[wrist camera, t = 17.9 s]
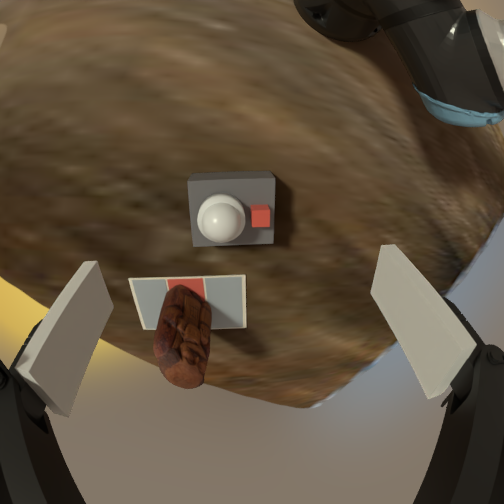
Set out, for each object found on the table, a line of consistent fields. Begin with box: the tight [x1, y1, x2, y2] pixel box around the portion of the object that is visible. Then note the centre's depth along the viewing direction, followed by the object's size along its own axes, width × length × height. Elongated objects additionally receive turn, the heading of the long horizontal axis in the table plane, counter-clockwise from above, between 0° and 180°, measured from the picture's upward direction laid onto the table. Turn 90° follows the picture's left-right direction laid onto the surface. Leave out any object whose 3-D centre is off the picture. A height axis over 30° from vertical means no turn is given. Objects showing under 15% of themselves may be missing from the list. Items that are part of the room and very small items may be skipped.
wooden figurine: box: [153, 284, 212, 389], centre depth 44 cm, size 12×6×18 cm, turn 39°
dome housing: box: [187, 171, 275, 247], centre depth 41 cm, size 12×10×7 cm
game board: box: [128, 275, 246, 330], centre depth 52 cm, size 22×13×1 cm, turn 90°
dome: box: [197, 193, 245, 243], centre depth 37 cm, size 6×6×5 cm
